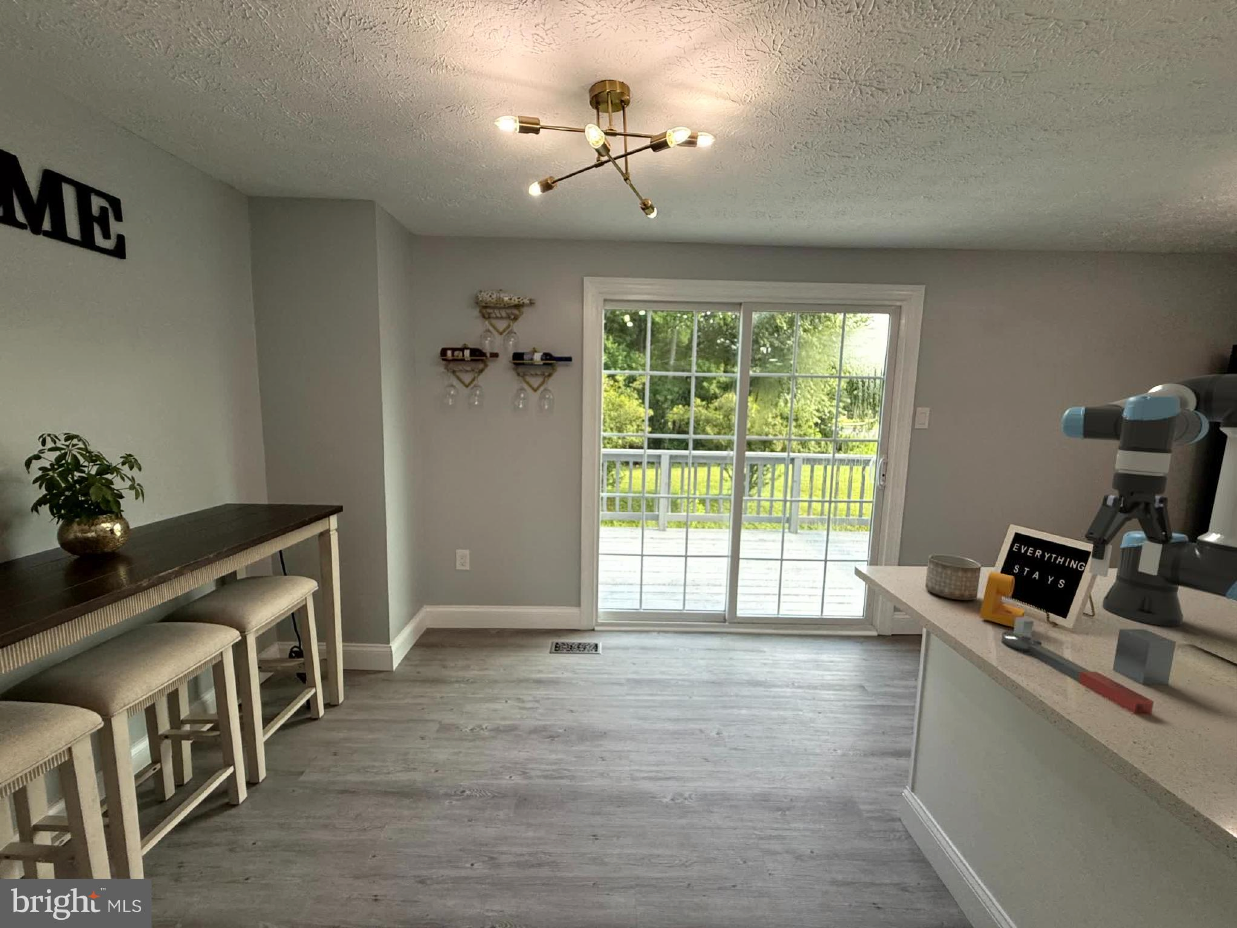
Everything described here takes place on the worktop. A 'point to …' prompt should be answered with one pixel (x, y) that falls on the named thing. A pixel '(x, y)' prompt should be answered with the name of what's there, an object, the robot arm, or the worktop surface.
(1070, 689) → the worktop surface
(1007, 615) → the bracket
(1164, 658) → the gray rectangular block
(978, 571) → the planter
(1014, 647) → the ratchet
